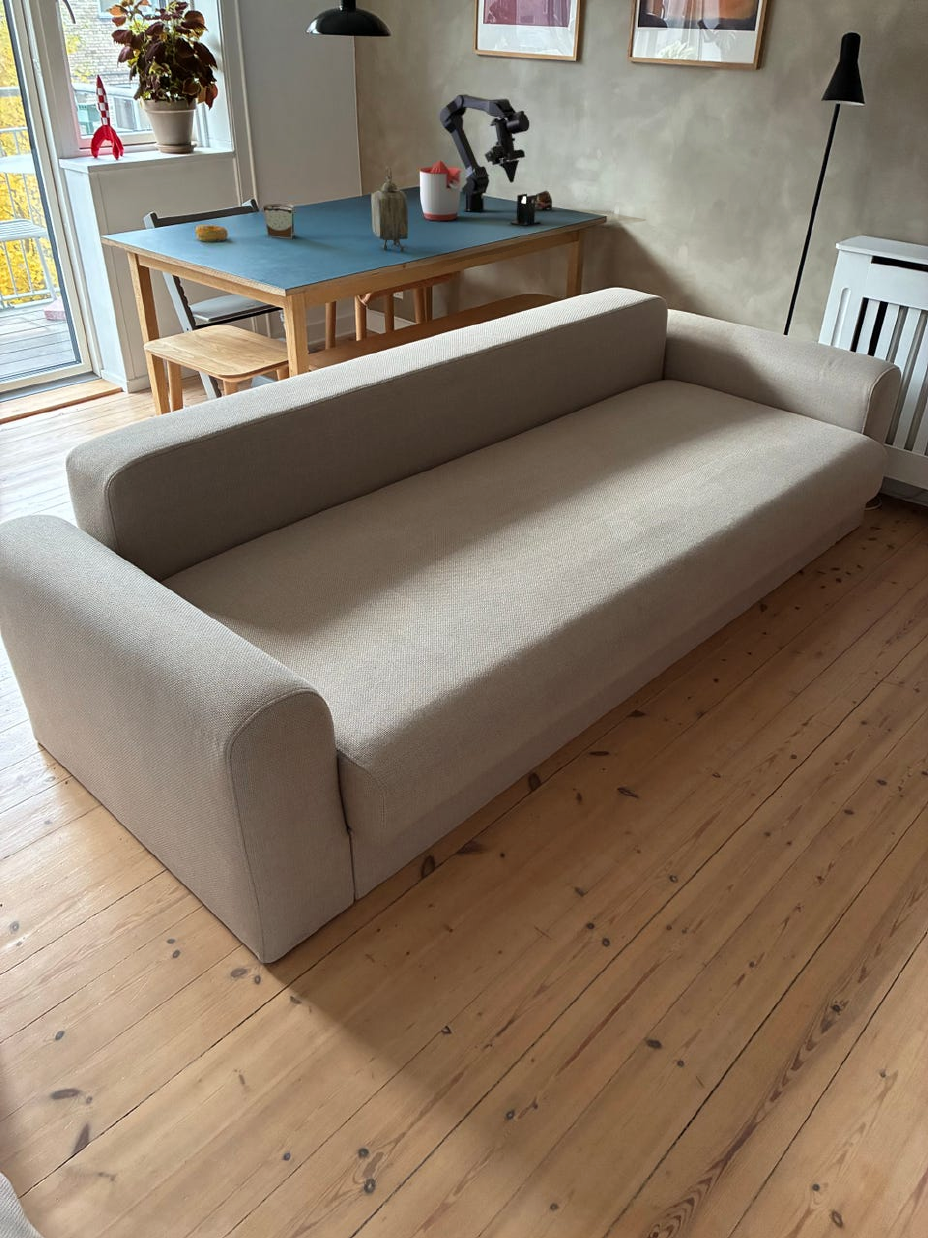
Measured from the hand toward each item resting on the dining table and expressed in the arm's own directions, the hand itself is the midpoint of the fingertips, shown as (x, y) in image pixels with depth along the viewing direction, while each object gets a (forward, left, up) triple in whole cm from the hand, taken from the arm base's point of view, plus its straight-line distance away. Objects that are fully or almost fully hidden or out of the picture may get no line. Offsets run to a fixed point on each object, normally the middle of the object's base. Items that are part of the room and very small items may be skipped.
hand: (511, 182), depth 357 cm
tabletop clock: (-31, -64, -12) cm, 73 cm away
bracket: (+8, -15, -12) cm, 21 cm away
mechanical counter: (+8, +16, -12) cm, 21 cm away
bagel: (-95, -62, -12) cm, 114 cm away
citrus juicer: (-25, -9, -12) cm, 30 cm away
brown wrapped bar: (+9, -12, -6) cm, 16 cm away
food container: (-73, -51, -12) cm, 90 cm away
